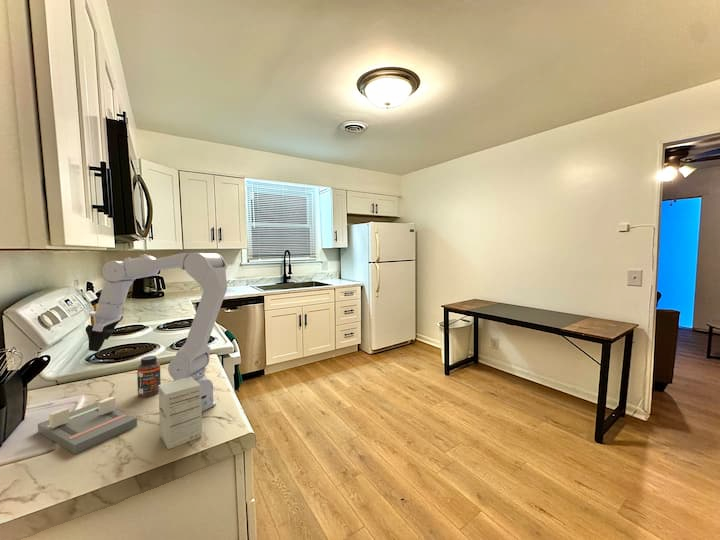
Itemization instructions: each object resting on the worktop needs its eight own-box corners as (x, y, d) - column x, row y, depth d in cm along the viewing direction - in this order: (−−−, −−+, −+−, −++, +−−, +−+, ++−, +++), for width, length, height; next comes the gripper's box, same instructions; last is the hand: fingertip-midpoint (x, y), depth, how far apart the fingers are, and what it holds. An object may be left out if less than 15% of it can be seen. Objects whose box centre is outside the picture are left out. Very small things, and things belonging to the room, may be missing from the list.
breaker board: (137, 425, 75) (136, 417, 75) (75, 454, 64) (74, 444, 64) (98, 409, 83) (98, 401, 83) (38, 431, 72) (37, 423, 72)
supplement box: (159, 436, 70) (157, 384, 70) (193, 424, 76) (192, 375, 75) (166, 451, 65) (164, 394, 64) (203, 436, 70) (201, 384, 70)
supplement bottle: (141, 399, 89) (140, 362, 88) (135, 394, 92) (133, 358, 92) (164, 392, 93) (163, 356, 93) (157, 387, 97) (155, 353, 97)
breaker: (69, 421, 72) (68, 408, 72) (52, 428, 70) (52, 414, 70) (66, 420, 73) (65, 407, 73) (49, 426, 70) (49, 413, 70)
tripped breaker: (115, 409, 78) (115, 397, 78) (101, 415, 75) (101, 402, 75) (112, 408, 79) (112, 396, 79) (98, 413, 76) (98, 401, 76)
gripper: (104, 290, 89) (91, 331, 90) (84, 306, 77) (69, 354, 78) (132, 295, 93) (119, 335, 94) (117, 311, 80) (103, 357, 81)
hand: (98, 344), depth 86 cm, fingers open, 7 cm apart
